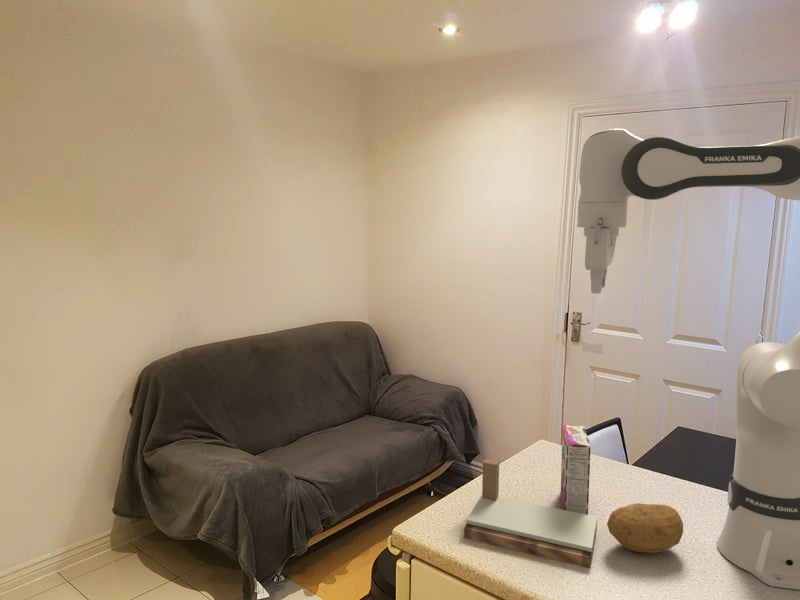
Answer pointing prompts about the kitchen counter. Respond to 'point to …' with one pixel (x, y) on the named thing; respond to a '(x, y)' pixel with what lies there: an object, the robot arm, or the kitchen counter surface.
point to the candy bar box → (575, 469)
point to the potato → (646, 527)
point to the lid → (529, 516)
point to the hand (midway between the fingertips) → (598, 290)
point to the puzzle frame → (530, 545)
